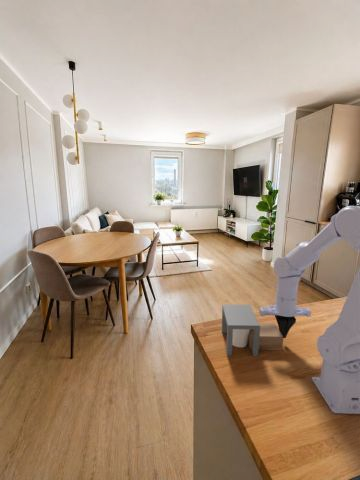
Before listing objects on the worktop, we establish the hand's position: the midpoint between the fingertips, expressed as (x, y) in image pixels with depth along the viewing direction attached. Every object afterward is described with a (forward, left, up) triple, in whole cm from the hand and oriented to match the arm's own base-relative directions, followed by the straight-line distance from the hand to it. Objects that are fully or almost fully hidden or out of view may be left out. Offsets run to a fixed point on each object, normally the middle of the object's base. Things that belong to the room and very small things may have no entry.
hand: (282, 336), depth 73 cm
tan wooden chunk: (0, +6, -2) cm, 6 cm away
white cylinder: (0, +14, -3) cm, 14 cm away
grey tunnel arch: (0, +14, -2) cm, 14 cm away
